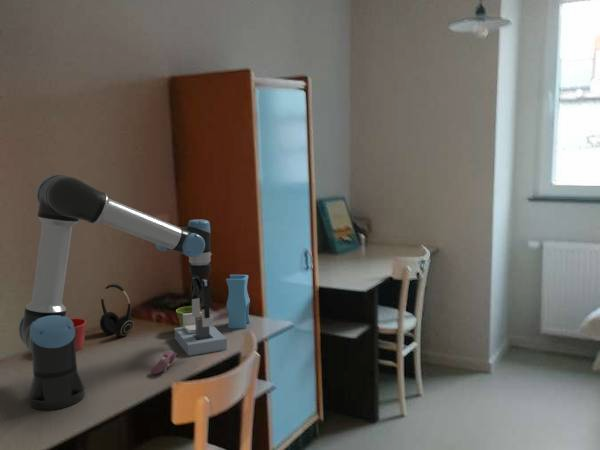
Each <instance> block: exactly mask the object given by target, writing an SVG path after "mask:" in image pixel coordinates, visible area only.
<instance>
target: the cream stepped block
mask: <svg viewBox="0 0 600 450" xmlns="http://www.w3.org/2000/svg"><path fill="white" fill-rule="evenodd" d="M200 315H202V311H200ZM195 317H200V316H194V317H193V316H192V313H187V314H183V328H184V329H185V330H186V331H187V332H188V334H190V333H196V325H195ZM209 331H210V327H209Z"/></svg>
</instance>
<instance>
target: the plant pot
mask: <svg viewBox="0 0 600 450" xmlns="http://www.w3.org/2000/svg"><path fill="white" fill-rule="evenodd" d="M175 312H176V314H177V318H178V322H179V328H180V327H183V314H187V313H192V305H191V306H190V305H189V306H183V307H182V306H181V307H178V308H177V309H176V310H175Z"/></svg>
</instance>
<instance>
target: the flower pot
mask: <svg viewBox="0 0 600 450" xmlns="http://www.w3.org/2000/svg"><path fill="white" fill-rule="evenodd" d="M70 319H71V320H72V322H73V324H74V328H75V346H76V352H78V351H80V350H82V349H83V348H84V345H85V339H86V338H85V337H86V327H87V320H85V319H84V318H74V317H73V318H70Z"/></svg>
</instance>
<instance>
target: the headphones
mask: <svg viewBox="0 0 600 450" xmlns="http://www.w3.org/2000/svg"><path fill="white" fill-rule="evenodd" d="M109 288H115V289H118V290H120V291H121V292H122V293H123V294H124V295H125V298H126V299H127V310H126V314H124V315H122V316H120V317H119V316H118V314H117V313H115V312H112V311H107V307H106V306H105V301H104V295H105V294H104V293H105V292H106V290H107V289H109ZM126 292H127V291H125V289H124V288H123V287H122V286H120V285H119V284H116V283H115V284H114V283H113V284H109V285H107V286H106V287H105V288H104V290H103V291H102V293H101V297H100V303H101V308H102V312H103V314H102V315H101V318H100V320H99V325H100V329H101V330H102V332H104V333H105V334H106V335H115V336H116V337H121V338H122V337H125V336H126V335H129V334H130V332H131V331H132V329H133V326H134V319H133V317H132V316H131V315H130V314H131V302H130V298H129V295H128V294H127V293H126Z"/></svg>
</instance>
